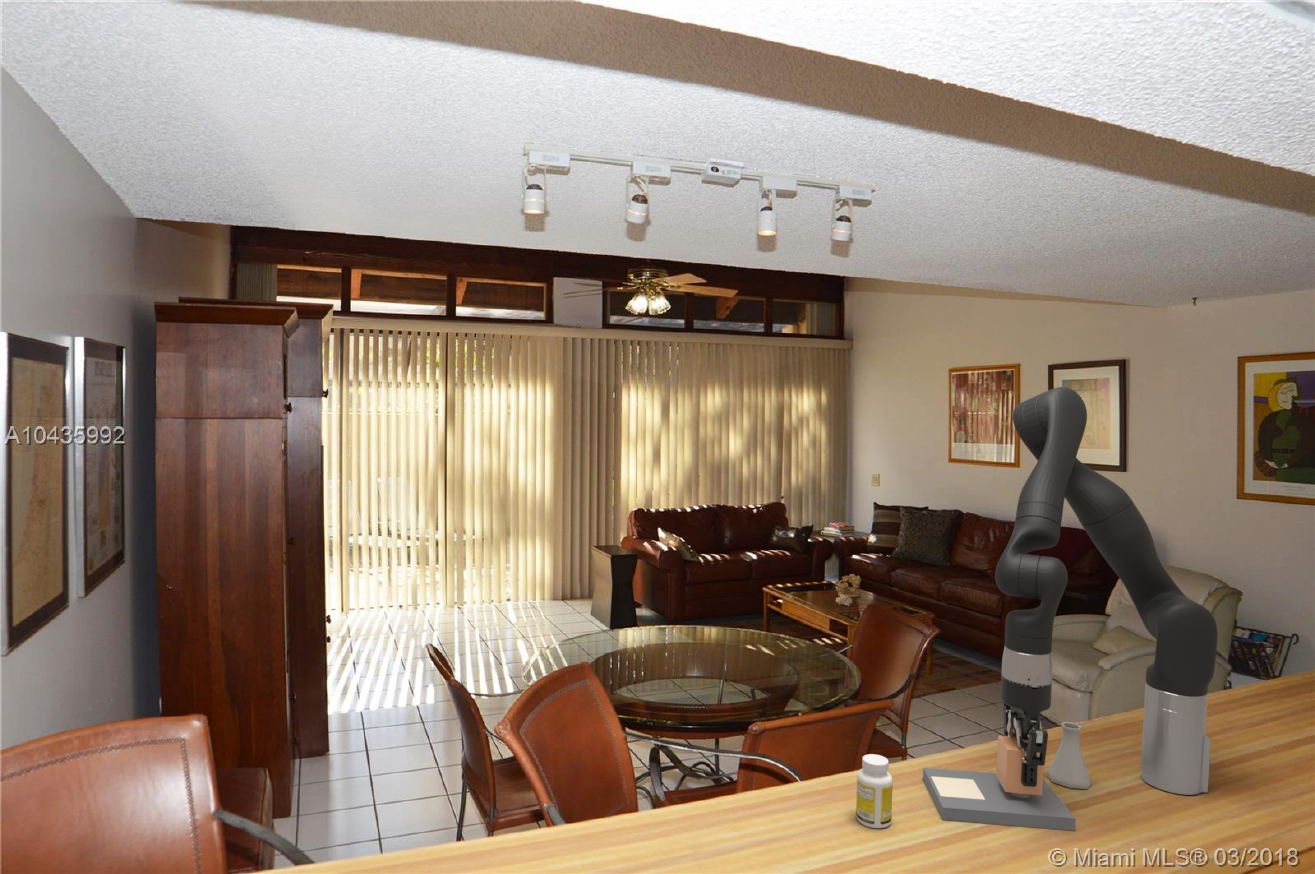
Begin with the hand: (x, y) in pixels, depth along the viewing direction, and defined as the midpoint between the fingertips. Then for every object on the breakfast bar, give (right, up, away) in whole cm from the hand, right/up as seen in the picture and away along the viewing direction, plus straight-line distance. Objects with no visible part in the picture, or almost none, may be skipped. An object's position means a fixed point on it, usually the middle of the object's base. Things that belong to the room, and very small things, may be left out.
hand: (1022, 776), depth 131 cm
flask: (+13, -5, +10) cm, 17 cm away
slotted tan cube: (0, -2, 0) cm, 2 cm away
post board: (-4, -5, +1) cm, 7 cm away
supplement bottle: (-26, -5, -6) cm, 27 cm away
